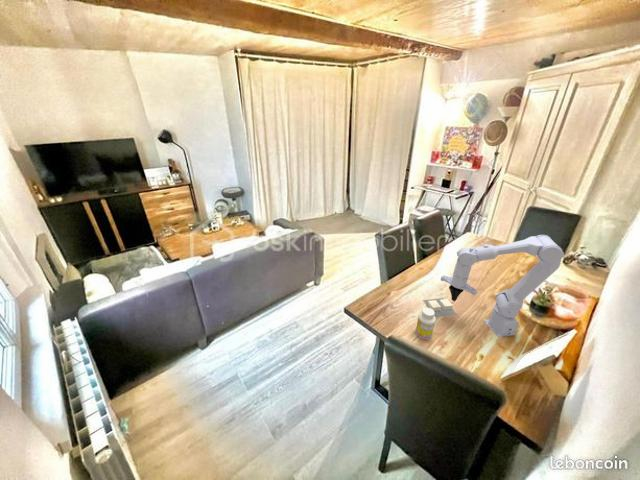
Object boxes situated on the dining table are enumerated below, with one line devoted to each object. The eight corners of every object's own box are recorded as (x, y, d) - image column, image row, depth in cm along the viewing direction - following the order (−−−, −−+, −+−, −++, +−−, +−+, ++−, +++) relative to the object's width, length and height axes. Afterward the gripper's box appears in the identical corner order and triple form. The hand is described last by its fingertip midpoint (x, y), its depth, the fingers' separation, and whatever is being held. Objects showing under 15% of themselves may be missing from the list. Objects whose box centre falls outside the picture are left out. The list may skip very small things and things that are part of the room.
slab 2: (452, 305, 117) (446, 298, 122) (445, 306, 117) (439, 299, 121) (451, 309, 118) (445, 302, 123) (444, 310, 118) (438, 303, 122)
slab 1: (441, 306, 117) (435, 299, 121) (433, 307, 116) (427, 300, 121) (440, 310, 118) (434, 303, 122) (432, 311, 117) (426, 304, 122)
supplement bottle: (418, 325, 110) (423, 303, 105) (433, 332, 106) (439, 310, 101) (413, 335, 106) (417, 312, 100) (428, 342, 102) (434, 319, 96)
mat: (457, 315, 115) (457, 314, 115) (435, 317, 114) (435, 317, 114) (442, 298, 126) (443, 298, 126) (422, 300, 125) (422, 300, 125)
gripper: (483, 278, 101) (475, 303, 108) (448, 264, 112) (442, 288, 118) (476, 285, 98) (468, 311, 104) (440, 270, 108) (435, 294, 114)
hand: (454, 299), depth 110 cm, fingers closed
